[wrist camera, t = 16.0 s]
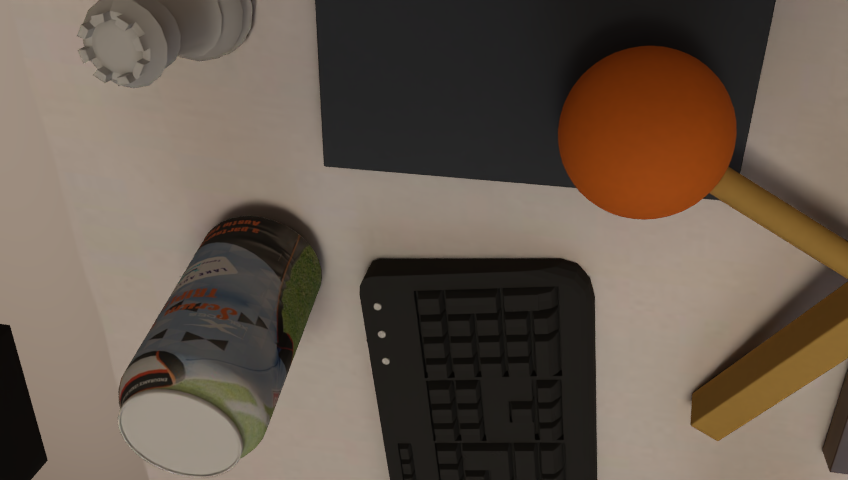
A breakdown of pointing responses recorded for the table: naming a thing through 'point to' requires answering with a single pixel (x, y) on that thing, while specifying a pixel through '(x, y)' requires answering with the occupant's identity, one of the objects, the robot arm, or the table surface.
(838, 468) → the hanger rack
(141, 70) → the rook chess piece
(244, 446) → the beverage can
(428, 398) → the keyboard
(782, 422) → the table surface
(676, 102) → the ball on t-bar
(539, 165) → the slate mat
